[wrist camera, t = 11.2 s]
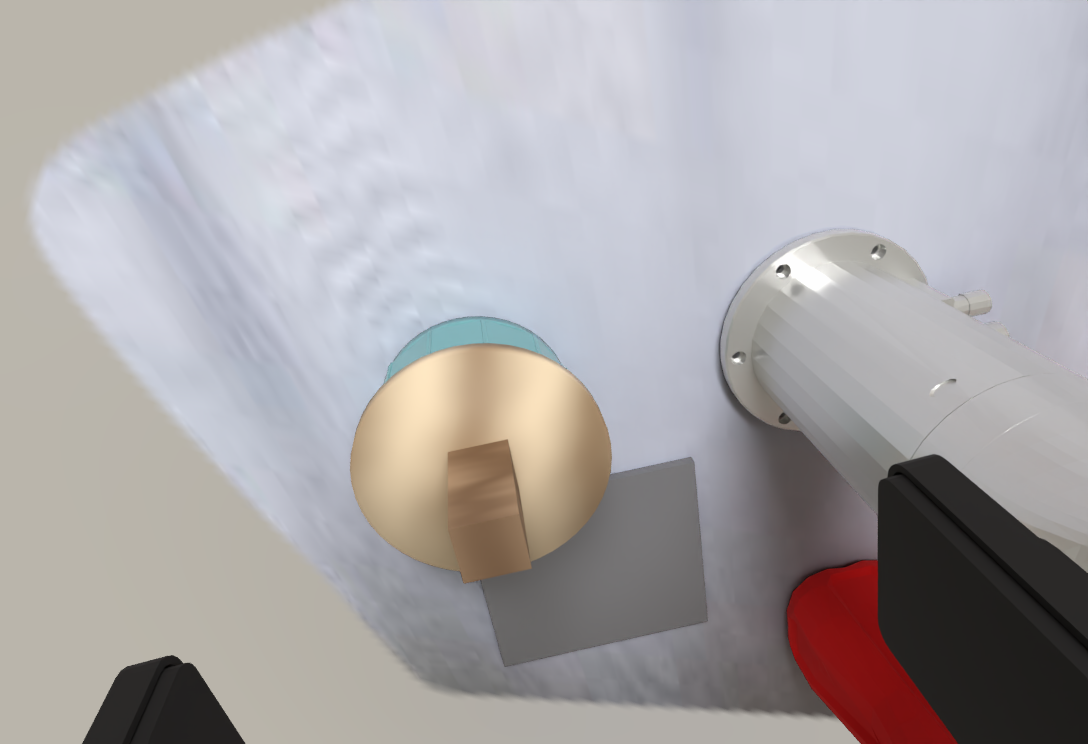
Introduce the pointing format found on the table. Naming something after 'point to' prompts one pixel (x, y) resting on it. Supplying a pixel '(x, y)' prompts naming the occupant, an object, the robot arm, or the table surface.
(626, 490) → the mat
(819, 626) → the water bottle
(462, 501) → the lid
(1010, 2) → the table surface
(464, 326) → the bowl
